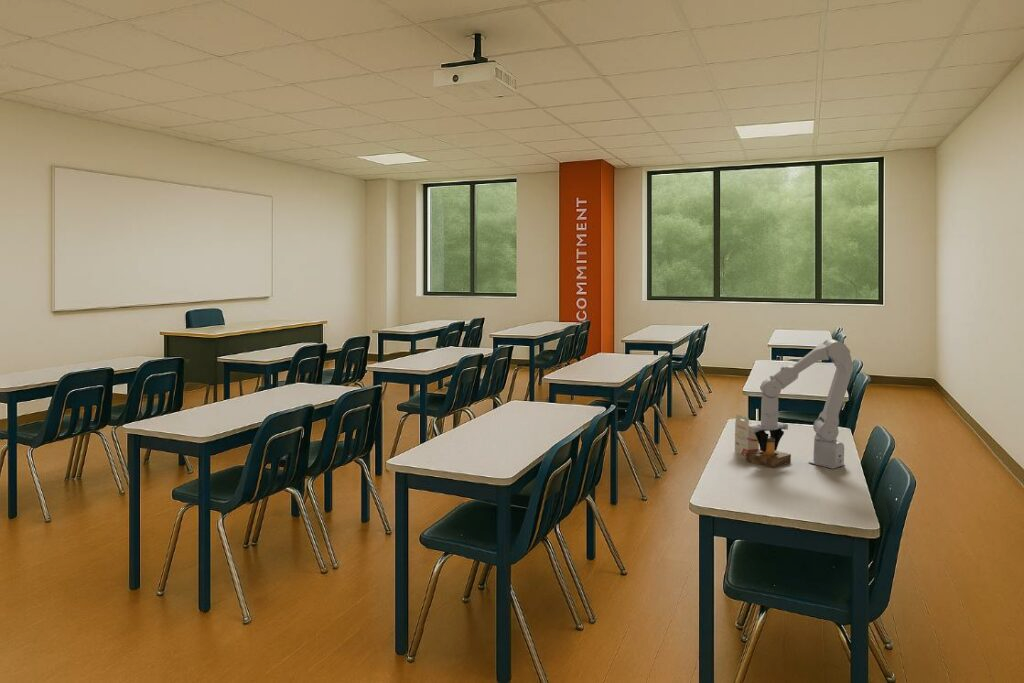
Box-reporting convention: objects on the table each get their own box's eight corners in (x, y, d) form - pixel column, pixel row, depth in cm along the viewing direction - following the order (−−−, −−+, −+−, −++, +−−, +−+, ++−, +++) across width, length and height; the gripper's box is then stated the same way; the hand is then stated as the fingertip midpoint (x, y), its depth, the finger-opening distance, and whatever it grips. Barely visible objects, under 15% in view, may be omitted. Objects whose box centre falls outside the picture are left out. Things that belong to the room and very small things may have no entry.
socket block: (790, 462, 255) (790, 454, 255) (773, 468, 248) (773, 459, 248) (763, 455, 264) (763, 447, 263) (745, 461, 257) (745, 453, 257)
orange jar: (777, 459, 255) (777, 437, 255) (770, 461, 253) (770, 439, 252) (766, 457, 259) (767, 435, 258) (759, 459, 256) (760, 437, 255)
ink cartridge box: (759, 456, 263) (760, 417, 262) (747, 457, 262) (748, 418, 260) (745, 450, 271) (746, 412, 270) (733, 451, 270) (734, 413, 268)
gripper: (759, 417, 248) (758, 455, 250) (794, 413, 252) (792, 451, 254) (746, 412, 255) (745, 450, 256) (781, 409, 259) (779, 446, 261)
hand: (768, 450), depth 256 cm, fingers closed on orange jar, 4 cm apart
